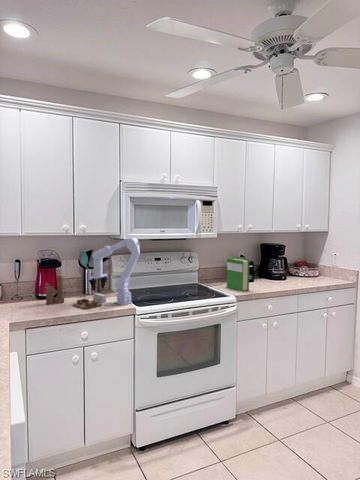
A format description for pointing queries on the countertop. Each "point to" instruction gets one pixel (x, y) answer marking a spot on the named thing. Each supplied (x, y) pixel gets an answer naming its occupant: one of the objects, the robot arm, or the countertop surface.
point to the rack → (86, 304)
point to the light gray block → (99, 298)
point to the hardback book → (238, 274)
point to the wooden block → (51, 290)
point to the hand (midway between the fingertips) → (98, 289)
